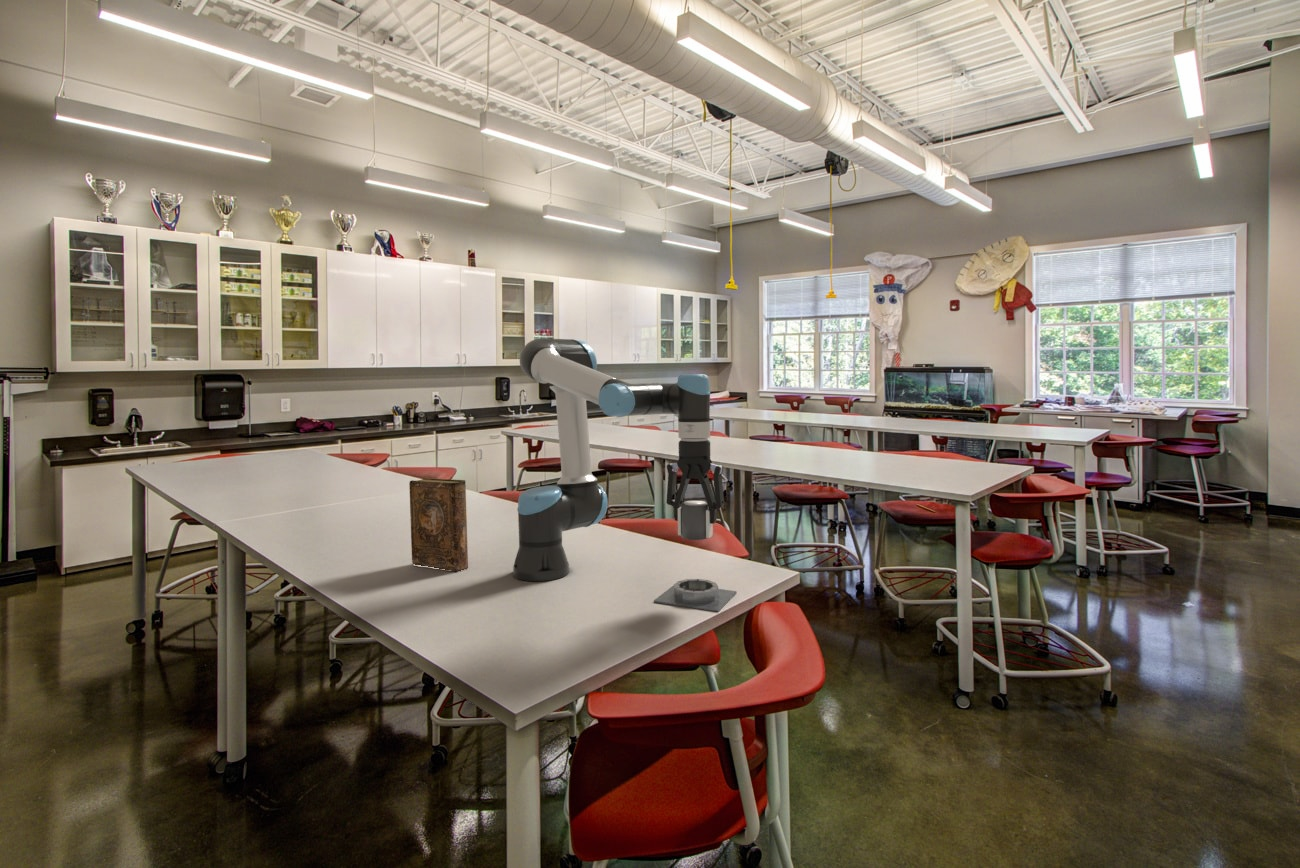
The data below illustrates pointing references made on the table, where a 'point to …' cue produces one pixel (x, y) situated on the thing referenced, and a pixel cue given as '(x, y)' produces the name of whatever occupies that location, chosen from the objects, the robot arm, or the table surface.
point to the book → (439, 523)
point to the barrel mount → (696, 595)
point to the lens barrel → (694, 520)
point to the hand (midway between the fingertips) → (695, 535)
